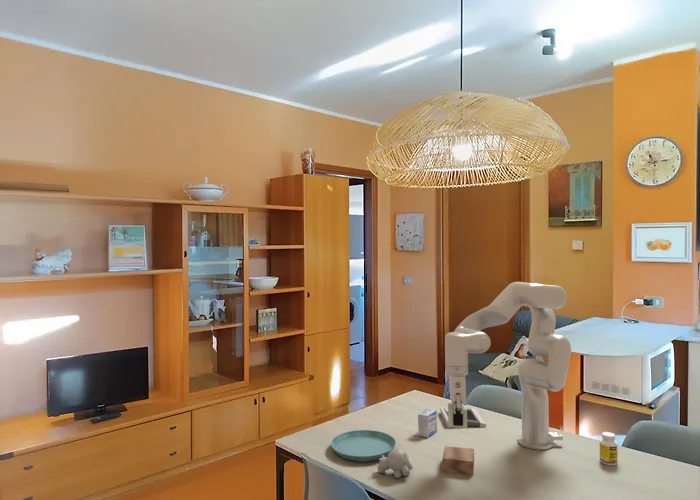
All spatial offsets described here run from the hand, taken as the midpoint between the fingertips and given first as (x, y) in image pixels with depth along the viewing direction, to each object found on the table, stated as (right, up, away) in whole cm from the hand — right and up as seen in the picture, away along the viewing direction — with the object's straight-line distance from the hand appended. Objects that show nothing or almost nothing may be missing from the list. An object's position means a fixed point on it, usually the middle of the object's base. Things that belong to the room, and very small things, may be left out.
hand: (457, 421), depth 169 cm
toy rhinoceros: (-22, -17, -3) cm, 28 cm away
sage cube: (0, -1, 0) cm, 1 cm away
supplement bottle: (+52, -15, +1) cm, 54 cm away
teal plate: (-32, -17, +16) cm, 39 cm away
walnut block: (+1, -16, +1) cm, 16 cm away
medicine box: (-5, -15, +30) cm, 34 cm away
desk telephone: (+12, -15, +43) cm, 47 cm away
